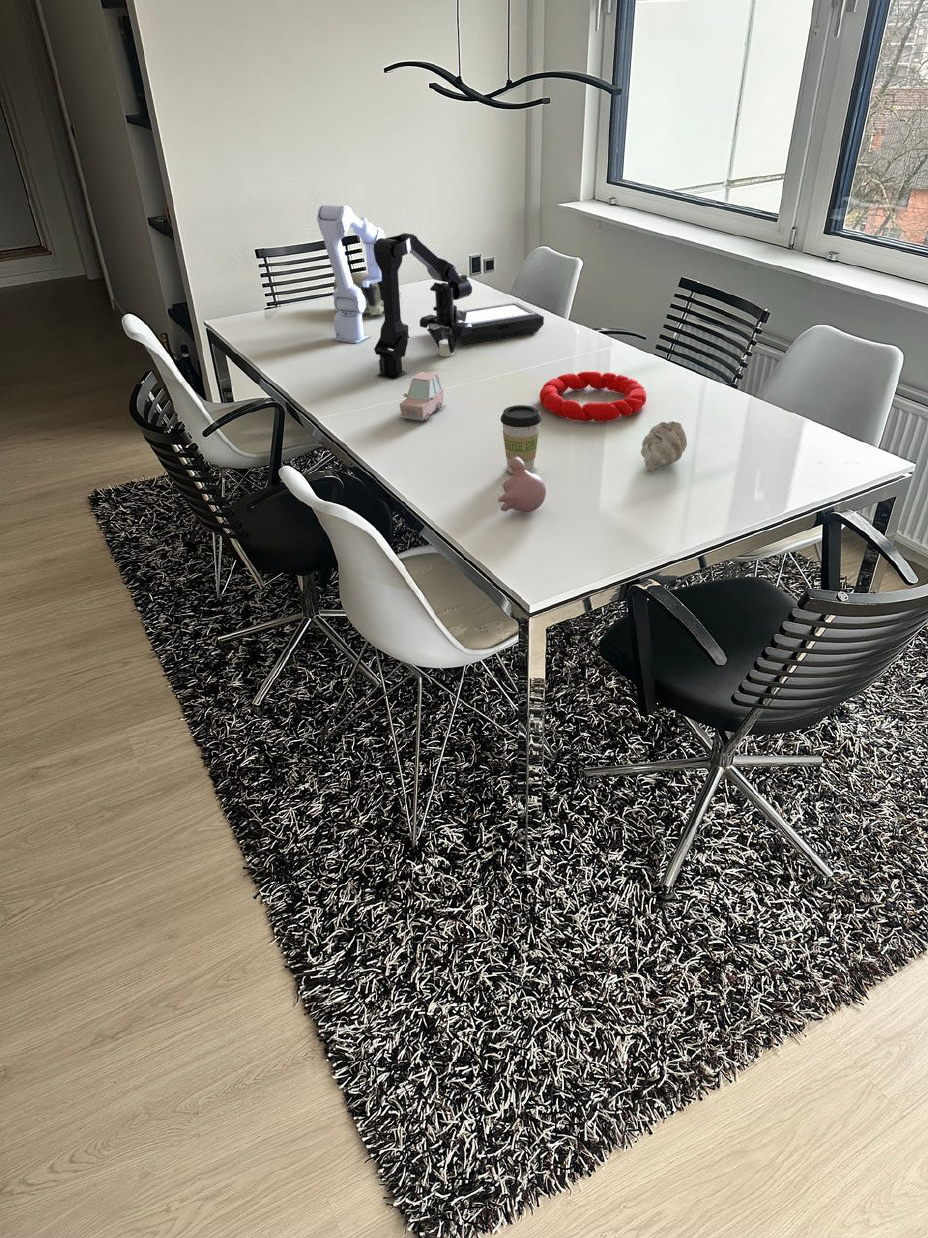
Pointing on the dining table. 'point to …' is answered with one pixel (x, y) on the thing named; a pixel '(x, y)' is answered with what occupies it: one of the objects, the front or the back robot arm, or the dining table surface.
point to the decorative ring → (593, 410)
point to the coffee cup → (521, 433)
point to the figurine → (522, 489)
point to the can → (444, 349)
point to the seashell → (663, 445)
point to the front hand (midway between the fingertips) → (446, 351)
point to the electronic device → (499, 322)
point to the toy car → (422, 397)
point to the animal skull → (357, 281)
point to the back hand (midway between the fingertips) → (378, 303)
